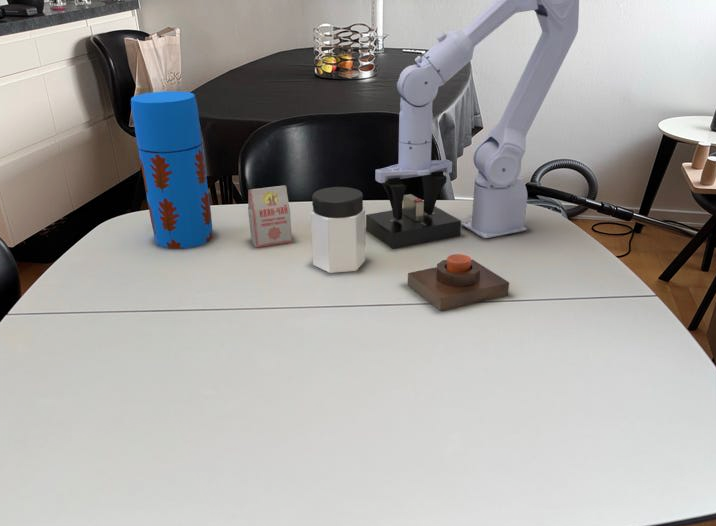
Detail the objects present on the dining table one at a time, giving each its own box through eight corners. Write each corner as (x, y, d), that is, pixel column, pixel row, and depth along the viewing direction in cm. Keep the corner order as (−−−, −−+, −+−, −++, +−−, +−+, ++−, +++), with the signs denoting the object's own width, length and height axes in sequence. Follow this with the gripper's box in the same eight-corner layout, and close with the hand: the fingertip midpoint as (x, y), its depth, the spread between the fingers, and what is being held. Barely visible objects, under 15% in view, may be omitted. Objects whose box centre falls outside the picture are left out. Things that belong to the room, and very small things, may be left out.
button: (461, 262, 107) (462, 252, 106) (474, 271, 104) (475, 260, 103) (442, 267, 105) (442, 256, 104) (454, 275, 102) (455, 264, 102)
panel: (429, 218, 135) (430, 202, 133) (460, 236, 126) (461, 219, 124) (365, 229, 130) (365, 213, 128) (392, 249, 121) (393, 232, 120)
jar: (326, 251, 121) (324, 183, 115) (370, 256, 119) (370, 188, 112) (306, 270, 114) (302, 200, 108) (352, 276, 111) (351, 205, 105)
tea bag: (251, 240, 126) (245, 187, 121) (286, 235, 128) (282, 182, 123) (256, 247, 123) (250, 193, 118) (292, 242, 125) (288, 188, 120)
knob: (402, 213, 128) (403, 193, 126) (410, 212, 129) (410, 192, 127) (415, 222, 124) (416, 201, 122) (423, 220, 125) (424, 200, 123)
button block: (471, 271, 112) (473, 248, 110) (508, 295, 105) (510, 271, 102) (407, 285, 108) (408, 262, 106) (440, 311, 100) (441, 286, 98)
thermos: (200, 250, 122) (179, 103, 109) (144, 247, 124) (118, 102, 111) (222, 229, 131) (205, 91, 118) (170, 226, 133) (148, 90, 120)
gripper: (388, 150, 114) (387, 228, 121) (463, 140, 119) (458, 216, 126) (370, 141, 119) (370, 216, 126) (442, 132, 124) (438, 205, 131)
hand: (412, 215), depth 126 cm, fingers open, 6 cm apart
